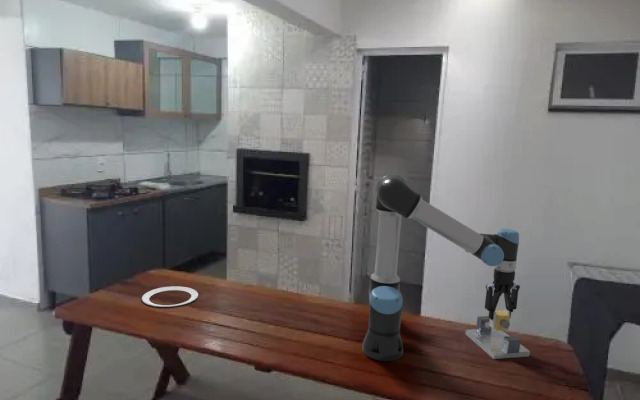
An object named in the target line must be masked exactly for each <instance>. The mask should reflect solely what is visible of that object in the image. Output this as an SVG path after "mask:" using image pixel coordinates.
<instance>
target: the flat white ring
mask: <svg viewBox="0 0 640 400" xmlns="http://www.w3.org/2000/svg"><path fill="white" fill-rule="evenodd" d="M167 291H183V292H186V293H189V294H190V295H191V296H190V298H189V299H188V300H186V301H183V302H181V303H177V304H169V305H167V304H165V305H162V304H156V303H153V302H151V300H150V298H151V296H153V295H155V294H157V293H161V292H167ZM198 297H199V293H198V291H197V290H196V289H193V288H191V287H186V286H178V285H177V286H173V285H171V286H163V287H158V288H154V289H151V290H149V291H147V292H146V293H144V294H143V295H142V296H141V301H142V302H143V304H145V305H147V306H150V307H153V308H154V307H156V308H174V307H175V308H176V307H179V306H185V305H187V304H190V303H192V302H194V301H196V299H197V298H198Z"/></svg>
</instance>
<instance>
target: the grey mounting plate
mask: <svg viewBox="0 0 640 400" xmlns="http://www.w3.org/2000/svg"><path fill="white" fill-rule="evenodd" d="M489 322H490V319H489V315H486V316H481V315H480V316H477V320H476V328H473V329H471V328H470V329H465V335H466V336H467V337H468V338H469V339H470V340H471V341H472V342H474V343H475V344H476V345H477V346H478V347H480V349H482V350H483V351H484V352H485V353H487V354H488V355H489V356H490V357H491V358H492V359H493V360H496V359H497V360H498V359H509V358H510V359H511V358H513V359H514V358H522V357H523V358H525V357H530V356H531V355H530V354H531V351H530V350H529V349H528V348H526V347H525V346H523V345H522V344H521V341H522V340H521V339H520V338H519V337H518V336H516V335H513V336H512V335H509V334H508V333H506V332H505V331H504V330H501V331H496V330H495V329H493V328H492V327H490V326H489Z"/></svg>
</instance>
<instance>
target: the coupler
mask: <svg viewBox="0 0 640 400" xmlns="http://www.w3.org/2000/svg"><path fill="white" fill-rule="evenodd" d="M495 312H496V313H497V314H496V322H495V330H496V331H501V330H502V331H509V329H510V328H509V327H510V324H511V323H510V319H511V318H510V315H509V314H507V313H506V312H504V309H502V310H501V309H500V310H499V309H498V310H495Z"/></svg>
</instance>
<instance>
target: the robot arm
mask: <svg viewBox="0 0 640 400" xmlns="http://www.w3.org/2000/svg"><path fill="white" fill-rule="evenodd" d="M375 190H376V199H375V210H376V212H378V225H377V239H376V249H375V250H376V251H375V252H376V254H375V264H374V265H375V266H374V272H373V273H372V274H371V275H370V277H369V278H370V281H369V288H368V297H369V298H368V301H369V302H368V303H369V306H368V307H369V310H368V311H369V312H368V313H369V315H368V329H367V331H366V334H365V337H364V339H363V341H362V345H361V346H362V347H361V348H362V349H361V350H362V352H363V354H364V355H365V356H366V357H368V358H370V359H373V360H376V361H380V362H392V361H393V362H394V361H398V360H399V359H401V358H402V357H403V355H404V346H403V345H404V344H403V341H402V337H401V320H402V308H403V303H404V302H403V301H404V300H403V295H402V293H401V291H400V286H401V285H400V284H401V283H400V282H401V278H400V276H399V275H398V274H397V272H398V265H399V264H398V260H399V250H400V240H401V229H402V227H401V226H402V217H403V218H405V219H407V220H408V219H412V220H414V221H416V222H418V223H419V224H421V225H422V226H424V227H425V228H427V229H429V230H431V231H432V232H434V233H435V234H437V235H439V236H441V237H442V238H444V239H446V240H448V241H449V242H450V243H452V244H454V245H456V246H457V247H460V248H461V249H463V250H464V251H465V252H466V253H469V254H471V255H472V256H474V257H476V258H477V259H479V260H481V262H483V263H484V264H485V265H487V266H489V267H494V269H493V276H492V277H493V282H492V283H491V284H485V290H486V291H485V293H486V294H485V301H484V309H485V310H486V311H488V316H489V319H490V322H489V326H490V327H492V328H493V329H495V322H496V314H497V313H496V312H495V311H496V308H497V306H498V303H499V300H500V298H501V296H502V295H504V296H503V298H504V304H505V308H503V311H504V312H506V313H507V314H509V315H510V319H511V316H512V313H513V312H514V310H517V307H518V306H517V305H518V300H519V299H518V297H519V291H520V289H521V286H520V285H519V284H517V283H516V282H514V281H515V276H516V272H515V270H516V268H517V257H518V251H519V244H520V233H519V232H518V231H516V230H515V229H509V228H500V229H498V231H497V234H496V233H495V234H492V233H490V234H489V233H478V232H476V231H475V230H473V229H472V228H471V227H468V226H467V225H465V224H463V223H462V222H460V221H459V220H457V219H456V218H454V217H452V216H451V215H449V214H447V213H445V212H443V211H442V210H440V209H439V208H437V207H435V206H434V205H433V204H431V203H428V202H427V201H425V200H424V199H423V196H422V195H421V194H420V193H417V192H416V191H415V190H413V189H412V188H411V187H410V186H409V185H408V184H407V181H406V180H405V179H404V178H403V177H401V176H400V175H398V174H387V175H385V176H383V177H381V178H380V179H379V180H378V182H377V184H376V189H375Z"/></svg>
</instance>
